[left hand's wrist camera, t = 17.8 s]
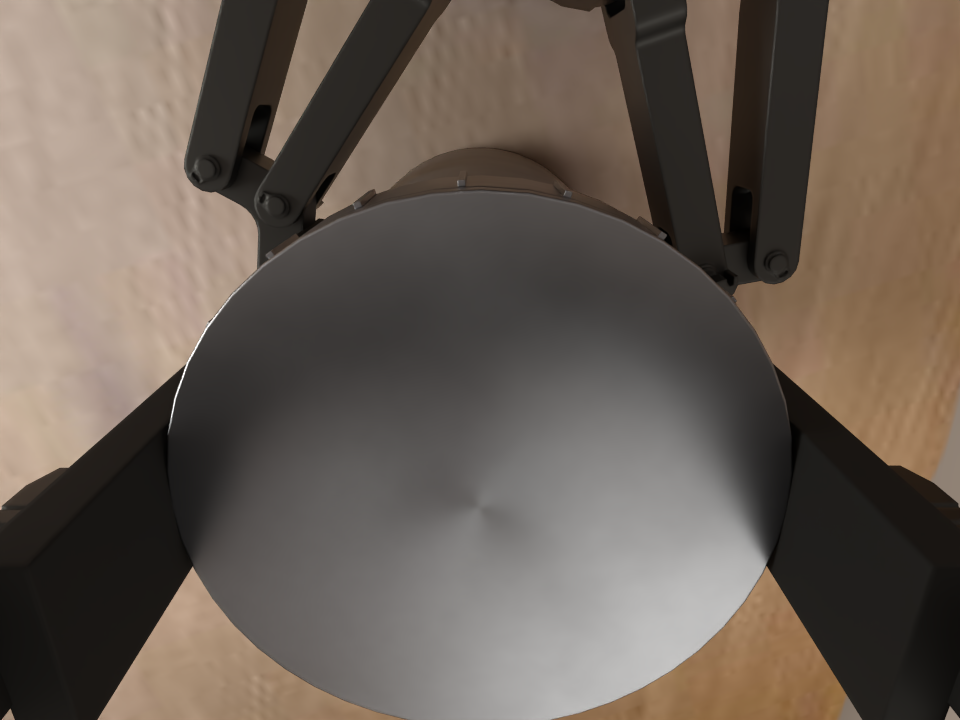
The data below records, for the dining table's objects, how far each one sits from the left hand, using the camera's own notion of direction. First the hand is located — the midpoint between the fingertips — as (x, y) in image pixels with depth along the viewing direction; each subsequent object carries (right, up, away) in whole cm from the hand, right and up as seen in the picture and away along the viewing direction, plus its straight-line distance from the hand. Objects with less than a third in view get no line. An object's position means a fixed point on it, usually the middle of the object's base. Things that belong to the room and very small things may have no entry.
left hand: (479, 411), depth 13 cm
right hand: (-1, -2, +7) cm, 8 cm away
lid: (0, -1, -3) cm, 3 cm away
